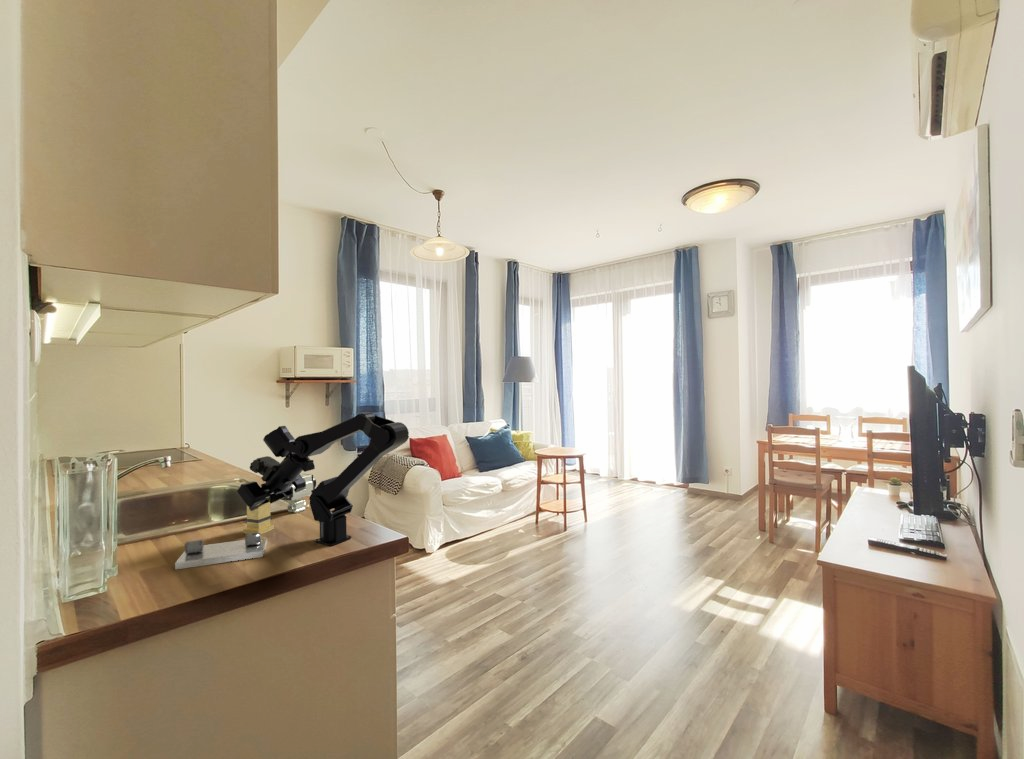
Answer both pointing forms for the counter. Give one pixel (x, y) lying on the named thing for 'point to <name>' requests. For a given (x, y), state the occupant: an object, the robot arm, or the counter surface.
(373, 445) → the robot arm
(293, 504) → the pneumatic valve
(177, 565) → the plate
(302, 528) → the counter surface
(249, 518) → the yellow banded block
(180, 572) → the counter surface
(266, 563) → the counter surface
